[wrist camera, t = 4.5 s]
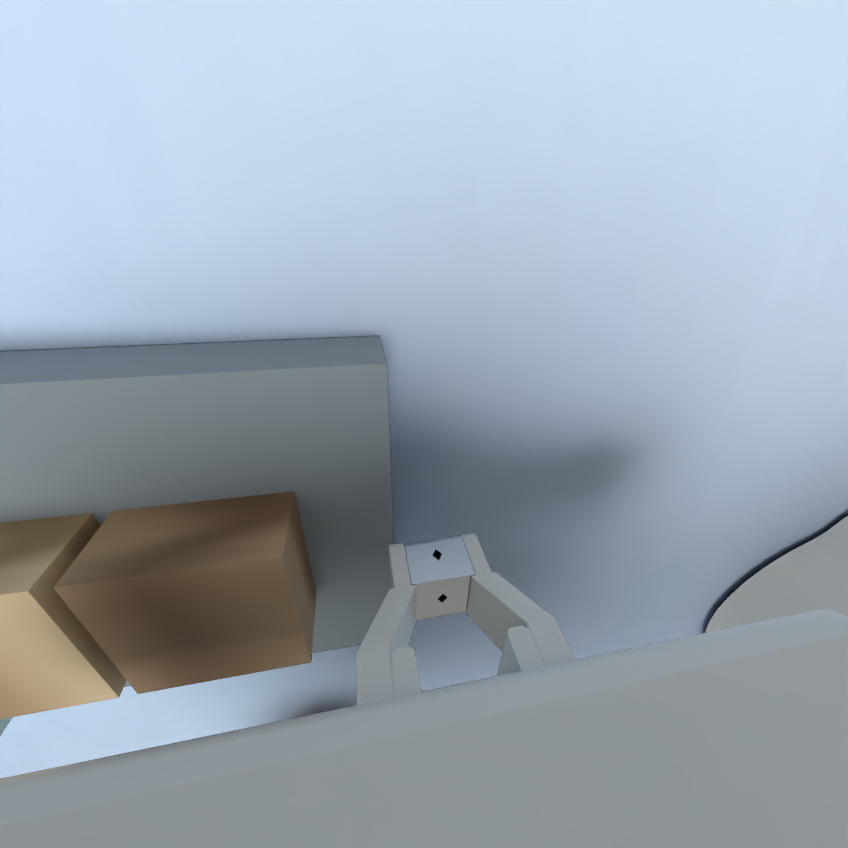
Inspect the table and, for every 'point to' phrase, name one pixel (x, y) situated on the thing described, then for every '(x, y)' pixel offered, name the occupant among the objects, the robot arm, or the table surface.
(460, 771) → the robot arm
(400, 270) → the table surface
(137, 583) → the tile
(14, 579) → the tile
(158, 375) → the board
